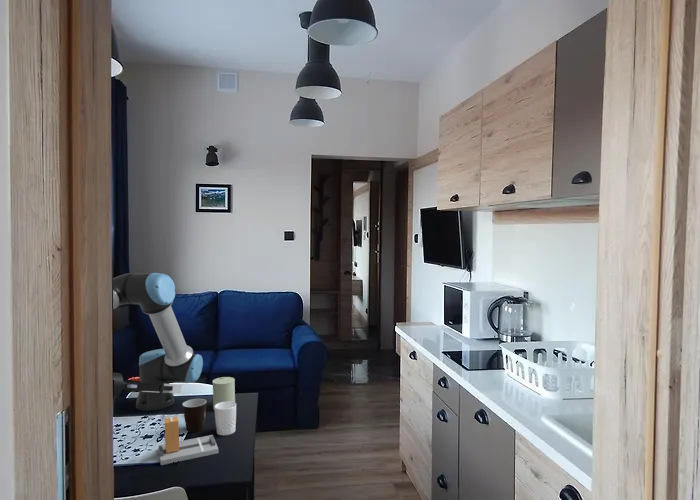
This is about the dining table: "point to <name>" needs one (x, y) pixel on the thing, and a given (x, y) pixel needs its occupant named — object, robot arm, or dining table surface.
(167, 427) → the fader tab
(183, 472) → the dining table surface
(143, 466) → the dining table surface
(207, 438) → the rail
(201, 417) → the coffee mug
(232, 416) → the white cup
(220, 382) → the can
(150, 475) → the dining table surface
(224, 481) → the dining table surface
